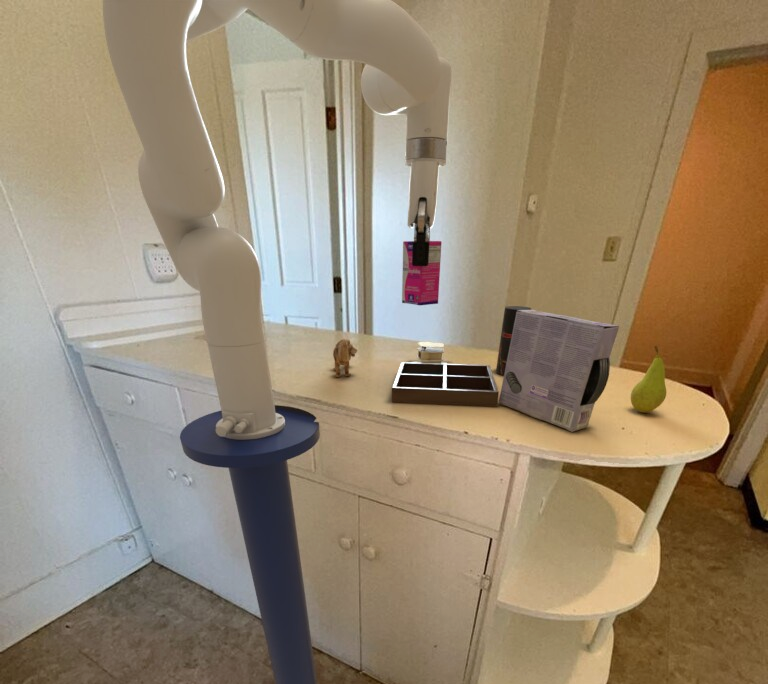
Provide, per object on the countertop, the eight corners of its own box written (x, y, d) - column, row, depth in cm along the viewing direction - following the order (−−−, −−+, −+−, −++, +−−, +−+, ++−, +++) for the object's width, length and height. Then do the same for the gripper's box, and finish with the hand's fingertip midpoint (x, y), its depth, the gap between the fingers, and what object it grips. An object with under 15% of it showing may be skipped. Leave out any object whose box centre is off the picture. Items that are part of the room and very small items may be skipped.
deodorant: (513, 369, 111) (523, 305, 103) (524, 375, 106) (535, 309, 98) (491, 370, 110) (500, 306, 102) (502, 376, 105) (512, 309, 97)
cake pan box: (595, 429, 76) (626, 322, 66) (577, 435, 74) (606, 325, 64) (513, 400, 90) (529, 308, 80) (496, 404, 87) (511, 310, 78)
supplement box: (400, 303, 92) (402, 240, 86) (420, 301, 95) (423, 241, 89) (419, 305, 88) (422, 240, 82) (439, 303, 91) (443, 240, 85)
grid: (496, 406, 86) (498, 392, 84) (391, 402, 88) (391, 387, 87) (488, 377, 104) (489, 365, 102) (401, 374, 106) (401, 362, 104)
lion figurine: (359, 379, 102) (358, 340, 97) (337, 381, 101) (335, 341, 96) (347, 364, 114) (345, 329, 109) (327, 366, 113) (325, 329, 108)
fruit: (655, 419, 80) (679, 353, 74) (622, 412, 83) (642, 348, 77) (662, 411, 84) (685, 347, 77) (630, 405, 87) (650, 343, 81)
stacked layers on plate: (447, 362, 116) (449, 341, 113) (448, 371, 109) (450, 348, 106) (411, 361, 117) (412, 340, 114) (409, 370, 110) (410, 347, 107)
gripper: (409, 162, 86) (406, 262, 95) (401, 146, 71) (399, 267, 81) (446, 161, 85) (439, 263, 95) (446, 146, 71) (438, 267, 80)
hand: (421, 264), depth 88 cm, fingers closed on supplement box, 8 cm apart
